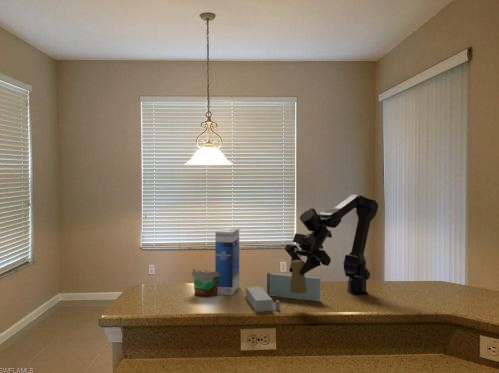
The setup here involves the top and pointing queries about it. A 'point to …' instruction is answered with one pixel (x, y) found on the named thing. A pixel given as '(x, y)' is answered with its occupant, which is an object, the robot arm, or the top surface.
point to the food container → (205, 283)
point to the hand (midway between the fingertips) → (295, 273)
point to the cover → (283, 282)
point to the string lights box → (227, 260)
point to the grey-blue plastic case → (261, 298)
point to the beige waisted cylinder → (297, 277)
